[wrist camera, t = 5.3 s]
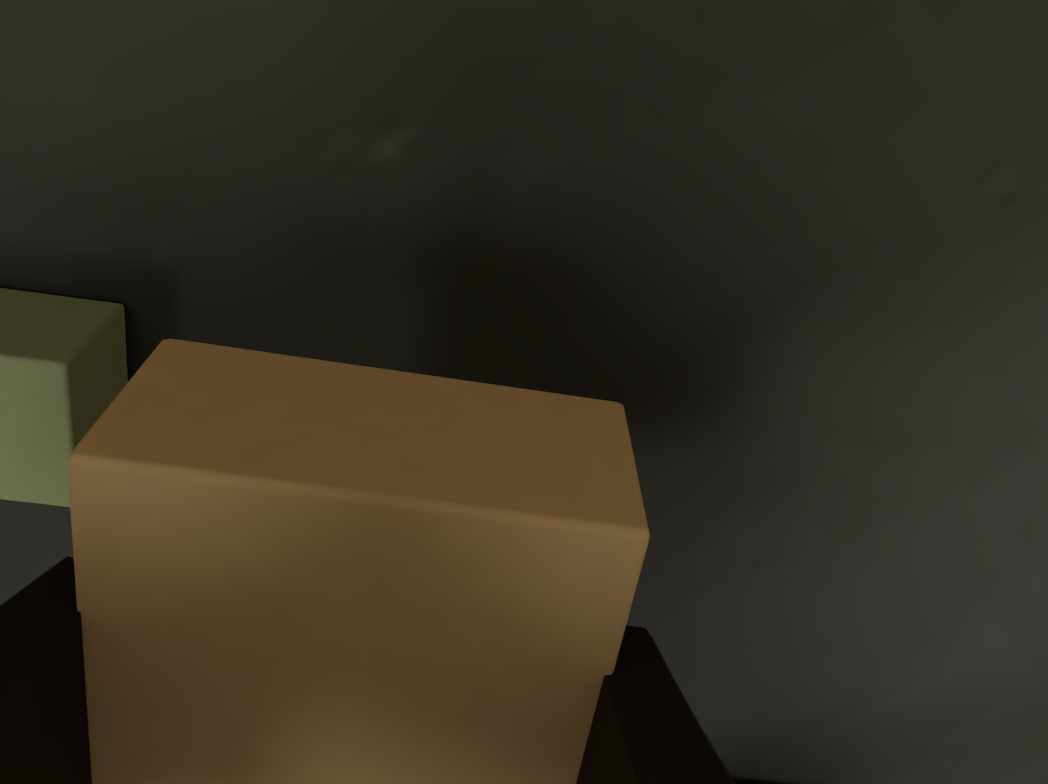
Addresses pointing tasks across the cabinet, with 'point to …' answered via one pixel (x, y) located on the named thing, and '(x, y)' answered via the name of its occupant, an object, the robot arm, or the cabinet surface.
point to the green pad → (53, 386)
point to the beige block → (347, 573)
